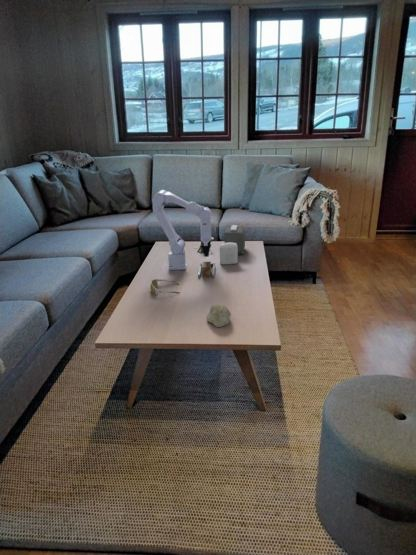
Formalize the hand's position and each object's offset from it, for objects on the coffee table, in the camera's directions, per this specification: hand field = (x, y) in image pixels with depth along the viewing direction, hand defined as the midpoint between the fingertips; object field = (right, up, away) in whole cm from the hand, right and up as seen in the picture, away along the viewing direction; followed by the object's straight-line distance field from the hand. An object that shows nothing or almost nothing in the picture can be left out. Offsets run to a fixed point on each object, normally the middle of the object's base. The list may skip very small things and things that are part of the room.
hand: (206, 254), depth 229 cm
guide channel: (0, -10, -2) cm, 10 cm away
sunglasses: (-21, -20, -21) cm, 35 cm away
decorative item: (+5, -32, -53) cm, 62 cm away
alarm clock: (+18, +3, +27) cm, 33 cm away
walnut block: (0, -11, -5) cm, 12 cm away
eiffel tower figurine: (-2, +3, +30) cm, 30 cm away
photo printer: (+13, -5, +9) cm, 16 cm away
